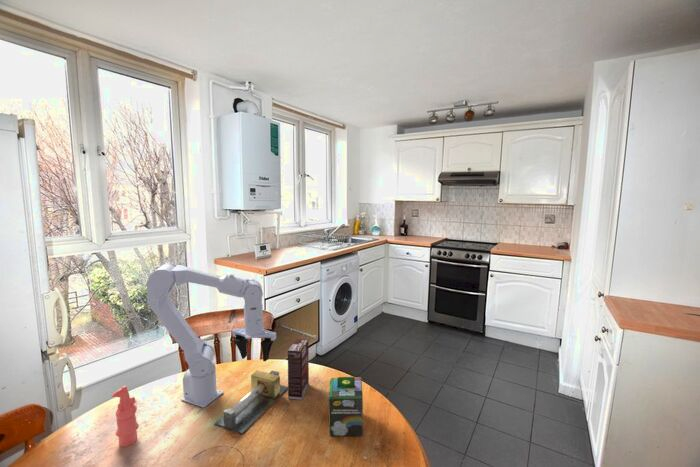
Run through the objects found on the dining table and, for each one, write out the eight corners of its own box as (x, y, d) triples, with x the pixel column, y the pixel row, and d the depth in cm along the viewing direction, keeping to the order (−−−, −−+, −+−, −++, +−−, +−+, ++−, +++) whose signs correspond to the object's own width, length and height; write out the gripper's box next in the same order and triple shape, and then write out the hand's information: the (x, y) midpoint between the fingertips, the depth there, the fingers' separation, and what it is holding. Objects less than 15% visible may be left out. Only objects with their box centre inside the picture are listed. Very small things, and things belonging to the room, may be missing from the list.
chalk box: (362, 413, 92) (362, 365, 91) (363, 437, 83) (363, 384, 82) (330, 413, 92) (330, 365, 91) (328, 437, 83) (328, 384, 82)
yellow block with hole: (274, 398, 98) (274, 381, 97) (251, 391, 101) (251, 375, 101) (280, 392, 101) (279, 376, 100) (257, 386, 104) (257, 370, 103)
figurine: (121, 452, 78) (116, 395, 76) (111, 443, 81) (106, 389, 79) (143, 438, 82) (139, 385, 81) (134, 431, 85) (129, 379, 83)
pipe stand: (242, 434, 84) (241, 416, 83) (214, 424, 88) (213, 407, 87) (288, 388, 104) (287, 373, 104) (264, 381, 108) (263, 367, 107)
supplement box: (302, 400, 98) (301, 352, 96) (287, 399, 99) (286, 351, 97) (309, 384, 107) (309, 339, 105) (295, 383, 107) (295, 338, 105)
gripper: (226, 321, 99) (227, 362, 101) (268, 325, 96) (269, 367, 98) (238, 313, 106) (240, 351, 107) (278, 316, 103) (279, 356, 104)
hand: (255, 358), depth 103 cm, fingers open, 7 cm apart
